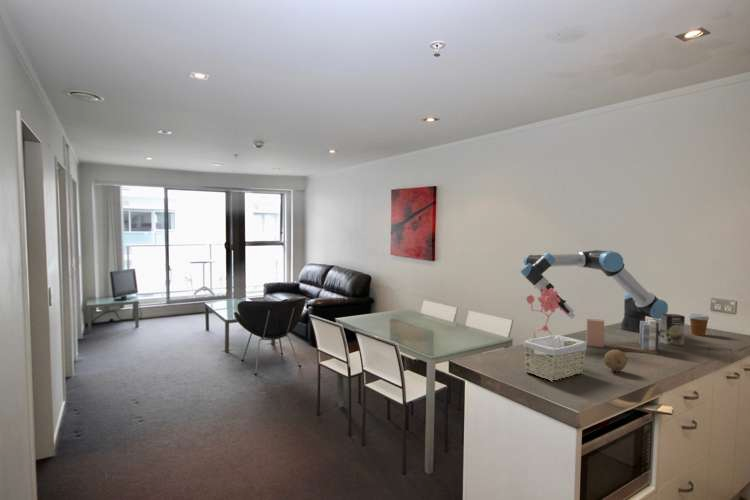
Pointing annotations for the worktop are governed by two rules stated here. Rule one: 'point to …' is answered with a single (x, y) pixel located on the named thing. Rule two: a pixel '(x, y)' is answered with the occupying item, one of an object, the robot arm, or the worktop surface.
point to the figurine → (546, 303)
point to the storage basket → (554, 356)
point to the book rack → (643, 338)
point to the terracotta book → (595, 332)
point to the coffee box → (672, 329)
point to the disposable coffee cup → (698, 324)
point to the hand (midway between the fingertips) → (572, 314)
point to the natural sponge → (615, 360)
